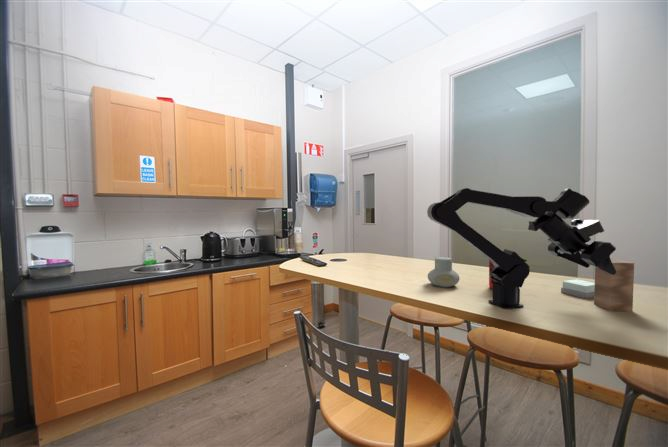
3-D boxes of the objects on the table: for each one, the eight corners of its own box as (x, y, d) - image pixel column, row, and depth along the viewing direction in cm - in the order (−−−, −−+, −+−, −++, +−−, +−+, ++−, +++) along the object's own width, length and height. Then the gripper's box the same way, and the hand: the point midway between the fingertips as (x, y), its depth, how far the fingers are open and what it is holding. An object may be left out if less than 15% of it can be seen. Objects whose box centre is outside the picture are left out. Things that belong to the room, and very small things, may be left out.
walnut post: (609, 310, 78) (611, 262, 77) (594, 304, 83) (595, 259, 83) (632, 311, 77) (634, 263, 77) (615, 304, 83) (616, 259, 82)
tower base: (584, 300, 89) (585, 293, 89) (560, 294, 96) (561, 287, 95) (600, 298, 91) (600, 291, 91) (575, 292, 98) (576, 285, 98)
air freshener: (457, 283, 109) (457, 256, 109) (461, 289, 101) (461, 260, 101) (426, 281, 112) (426, 256, 111) (428, 287, 103) (428, 259, 103)
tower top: (585, 293, 89) (586, 286, 89) (562, 287, 95) (562, 281, 95) (599, 290, 91) (599, 283, 91) (575, 285, 97) (576, 279, 97)
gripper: (607, 210, 71) (657, 254, 70) (558, 210, 89) (597, 245, 89) (572, 242, 72) (620, 286, 71) (531, 235, 91) (569, 270, 90)
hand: (600, 269), depth 80 cm, fingers open, 9 cm apart
